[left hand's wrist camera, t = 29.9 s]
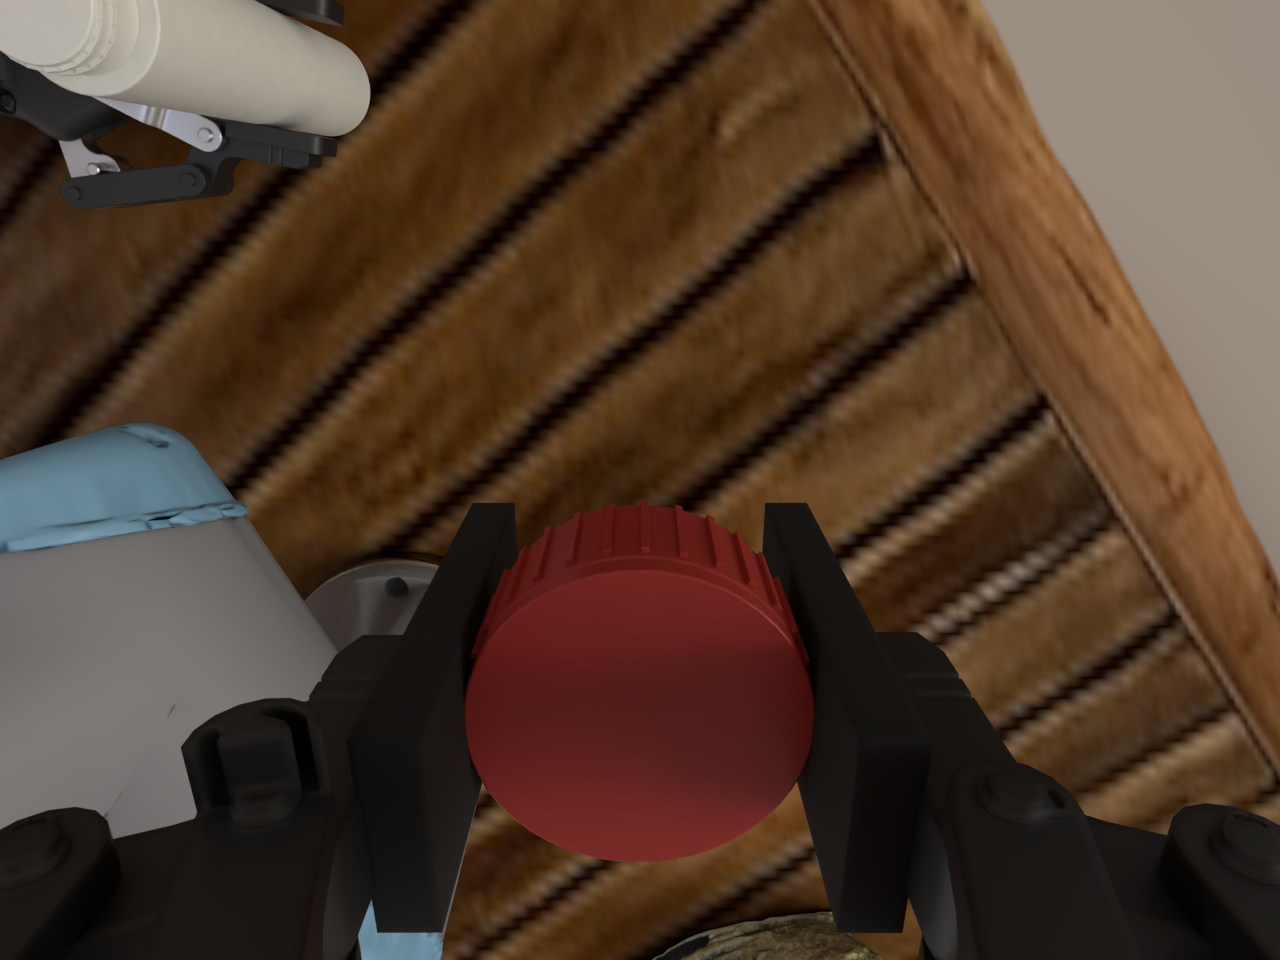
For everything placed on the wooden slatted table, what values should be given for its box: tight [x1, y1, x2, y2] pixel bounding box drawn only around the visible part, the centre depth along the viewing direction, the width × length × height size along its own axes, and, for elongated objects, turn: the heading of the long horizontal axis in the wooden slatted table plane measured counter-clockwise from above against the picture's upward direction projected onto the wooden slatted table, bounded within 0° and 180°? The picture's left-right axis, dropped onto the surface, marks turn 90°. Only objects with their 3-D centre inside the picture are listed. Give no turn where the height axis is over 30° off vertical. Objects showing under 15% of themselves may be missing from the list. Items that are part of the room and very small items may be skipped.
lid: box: [464, 501, 815, 862], centre depth 11 cm, size 5×5×2 cm
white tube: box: [0, 0, 370, 136], centre depth 28 cm, size 4×4×19 cm
